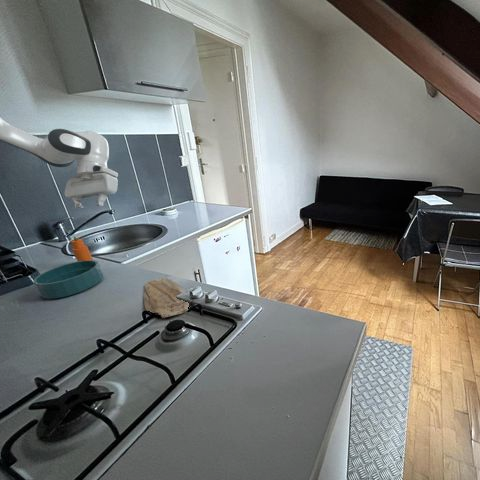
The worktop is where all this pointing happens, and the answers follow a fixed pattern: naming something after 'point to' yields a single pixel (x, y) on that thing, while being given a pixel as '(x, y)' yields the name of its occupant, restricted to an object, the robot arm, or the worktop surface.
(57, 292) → the bowl
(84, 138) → the robot arm
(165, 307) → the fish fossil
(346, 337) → the worktop surface
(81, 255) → the carrot
